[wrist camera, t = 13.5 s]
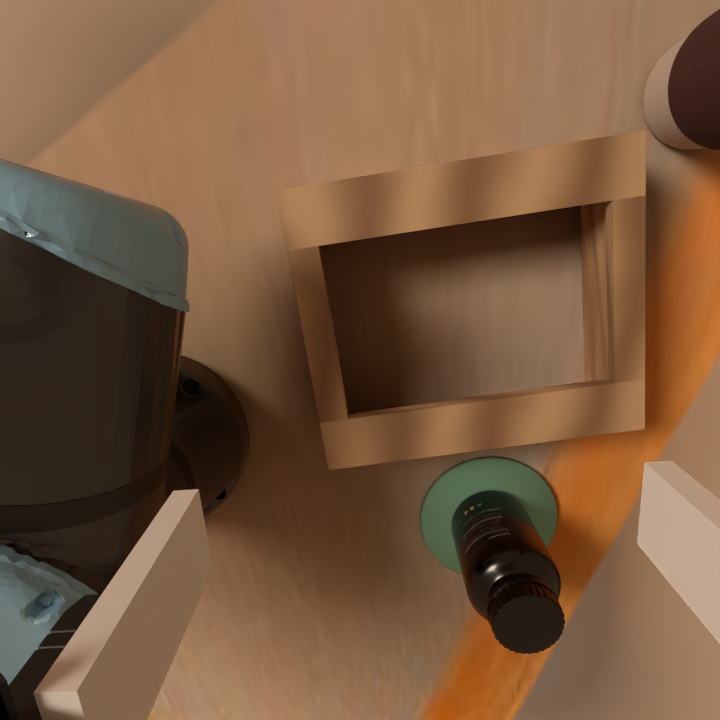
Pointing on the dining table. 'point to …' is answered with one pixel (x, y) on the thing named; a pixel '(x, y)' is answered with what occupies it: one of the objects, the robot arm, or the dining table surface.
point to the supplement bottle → (508, 571)
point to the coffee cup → (687, 90)
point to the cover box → (471, 204)
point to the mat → (476, 479)
